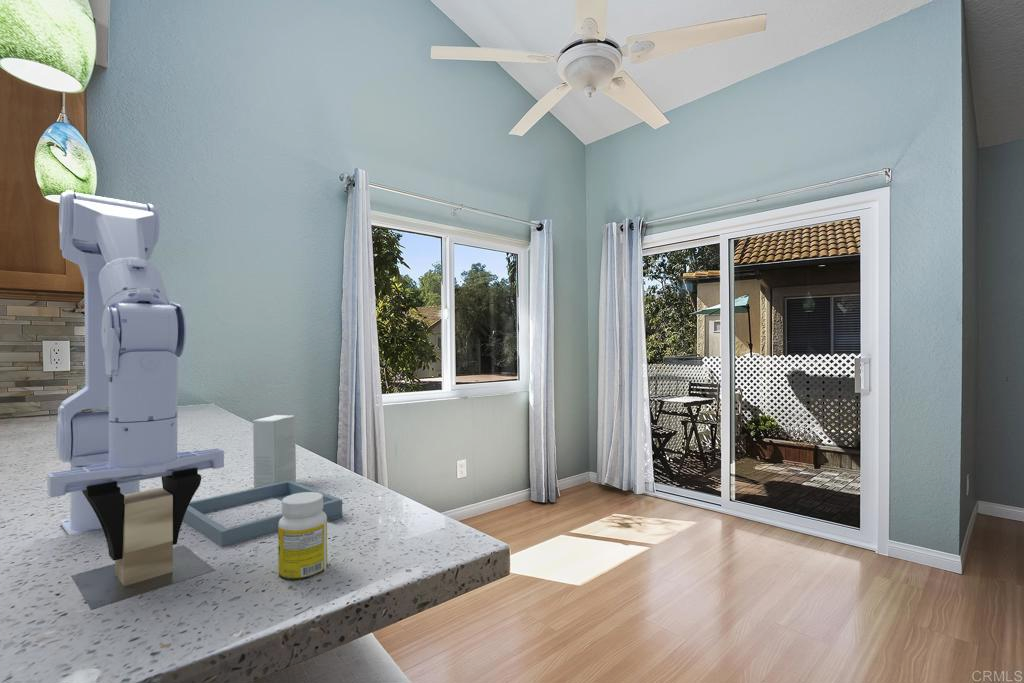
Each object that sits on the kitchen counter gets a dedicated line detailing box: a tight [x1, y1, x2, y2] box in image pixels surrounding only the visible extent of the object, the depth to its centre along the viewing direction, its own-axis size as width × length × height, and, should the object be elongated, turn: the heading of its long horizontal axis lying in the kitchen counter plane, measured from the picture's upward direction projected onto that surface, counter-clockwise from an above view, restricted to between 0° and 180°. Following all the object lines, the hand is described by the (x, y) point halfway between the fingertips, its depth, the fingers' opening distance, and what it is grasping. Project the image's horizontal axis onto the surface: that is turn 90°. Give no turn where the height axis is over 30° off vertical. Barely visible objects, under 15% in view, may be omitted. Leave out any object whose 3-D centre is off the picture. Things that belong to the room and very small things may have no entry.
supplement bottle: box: [277, 492, 328, 582], centre depth 51 cm, size 5×5×8 cm
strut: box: [114, 487, 174, 586], centre depth 51 cm, size 4×4×8 cm
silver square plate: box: [70, 544, 216, 611], centre depth 51 cm, size 10×10×4 cm
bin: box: [182, 480, 343, 548], centre depth 68 cm, size 16×16×2 cm
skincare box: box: [252, 414, 297, 488], centre depth 85 cm, size 6×4×12 cm
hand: (143, 549), depth 51 cm, fingers closed on strut, 4 cm apart
